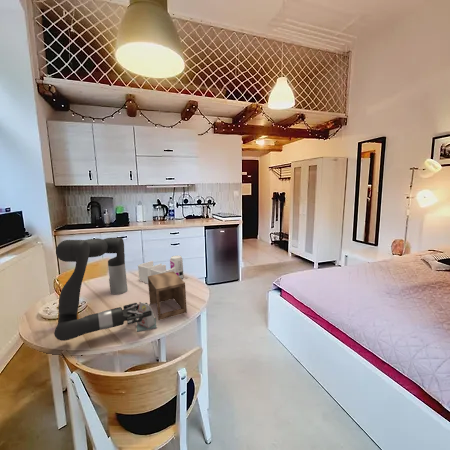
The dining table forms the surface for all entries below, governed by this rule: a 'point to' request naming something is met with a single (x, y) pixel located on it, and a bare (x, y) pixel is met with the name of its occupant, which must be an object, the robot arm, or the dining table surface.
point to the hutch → (167, 292)
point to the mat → (143, 328)
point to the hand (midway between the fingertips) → (149, 308)
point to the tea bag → (146, 320)
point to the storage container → (151, 270)
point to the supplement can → (177, 265)
